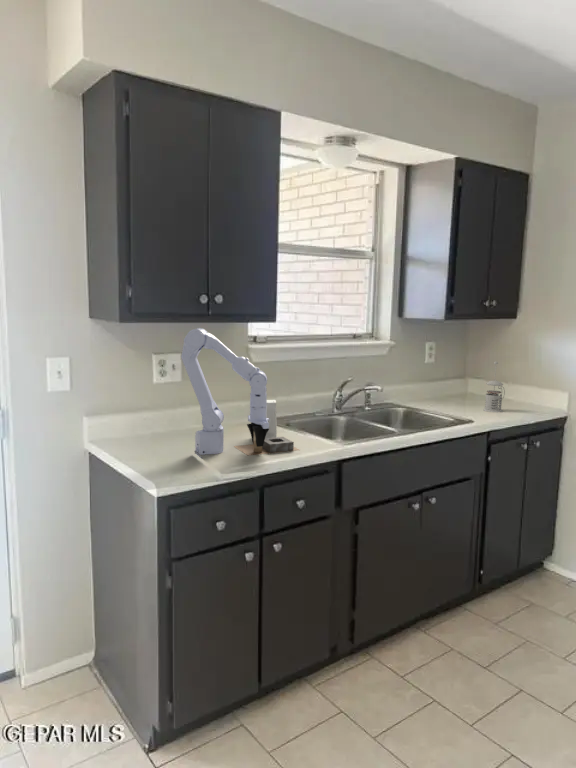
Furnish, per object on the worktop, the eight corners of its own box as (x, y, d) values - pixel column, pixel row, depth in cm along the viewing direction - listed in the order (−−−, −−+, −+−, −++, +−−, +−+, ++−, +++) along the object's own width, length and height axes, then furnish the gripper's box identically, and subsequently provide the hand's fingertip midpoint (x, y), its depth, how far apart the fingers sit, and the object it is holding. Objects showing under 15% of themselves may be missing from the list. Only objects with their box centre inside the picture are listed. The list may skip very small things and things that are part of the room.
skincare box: (276, 438, 230) (276, 399, 228) (276, 442, 224) (277, 402, 222) (254, 438, 230) (255, 399, 228) (254, 442, 224) (254, 402, 221)
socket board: (247, 458, 200) (247, 446, 200) (233, 449, 213) (233, 438, 212) (300, 453, 209) (300, 441, 208) (283, 444, 221) (283, 433, 221)
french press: (478, 409, 301) (481, 360, 298) (494, 407, 307) (498, 360, 303) (493, 412, 293) (496, 362, 289) (509, 411, 298) (513, 361, 295)
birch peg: (255, 452, 203) (255, 429, 202) (252, 450, 206) (252, 428, 205) (263, 451, 204) (263, 429, 203) (260, 449, 207) (260, 427, 206)
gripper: (277, 409, 198) (276, 448, 200) (260, 402, 211) (260, 439, 213) (258, 410, 195) (257, 450, 197) (242, 403, 208) (242, 441, 210)
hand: (257, 445), depth 205 cm, fingers closed on birch peg, 3 cm apart
